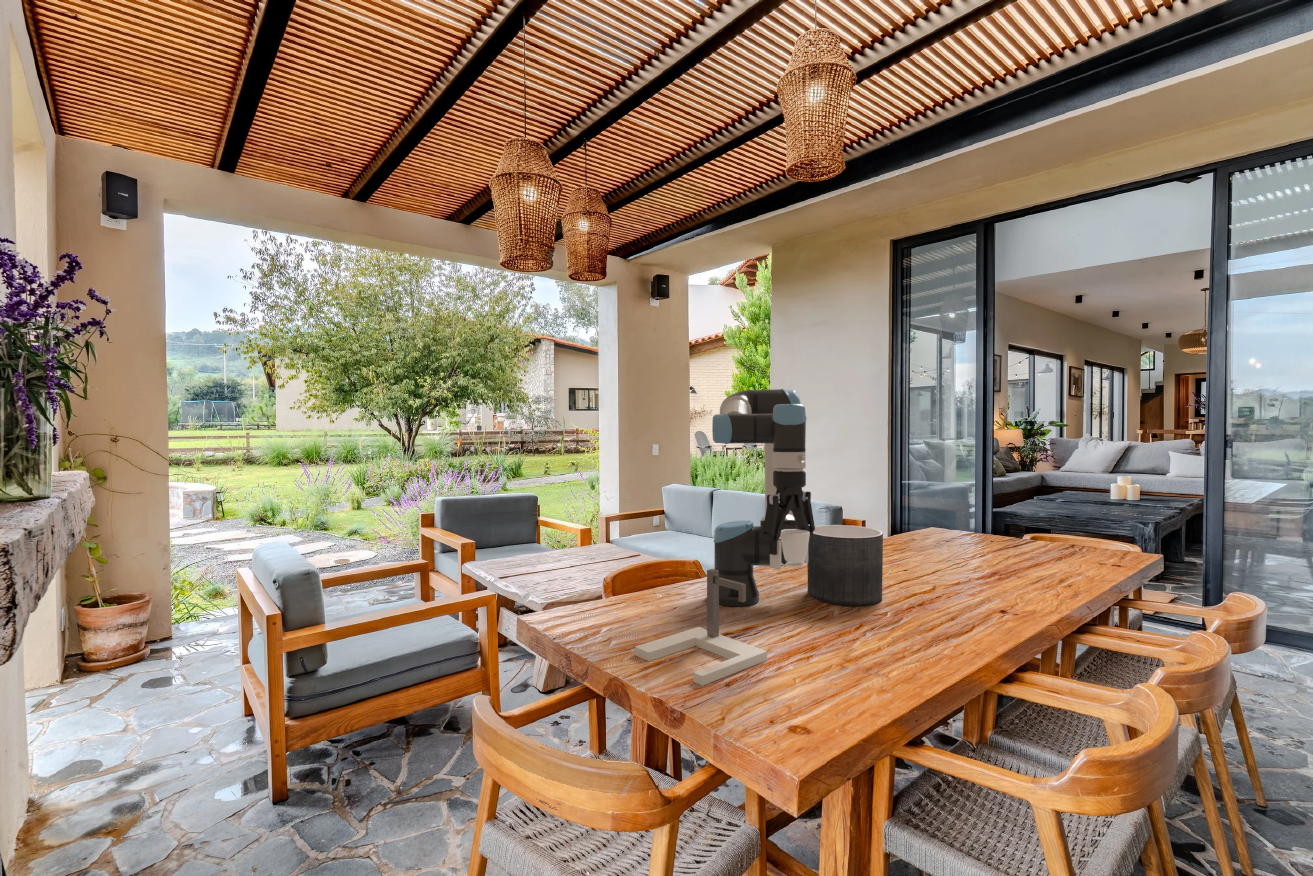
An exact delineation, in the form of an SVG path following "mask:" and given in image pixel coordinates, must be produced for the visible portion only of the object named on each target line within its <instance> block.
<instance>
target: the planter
mask: <svg viewBox="0 0 1313 876" xmlns="http://www.w3.org/2000/svg"><path fill="white" fill-rule="evenodd" d="M883 553H884V532H883V531H881V530H879V529H877V528H876V529H875V528H872V527H866V526H860V525H859V526H858V525H847V524H845V525H844V524H829V525H828V524H826V525H825V524H824V525H816V526H815V530H814V531H813V535H810V536H809V547H808V563H806V564H807V595H808V596H809V597H810V598H812V599H813V600H815V601H818V602H822V603H826V604H830V605H836V606H845V607H846V606H847V607H860V606H861V607H864V606H871V605H875V604H878V603H880V602H881V601H882V600H883V572H884V571H883V565H884V563H883V558H884V557H883V556H884V554H883Z"/></svg>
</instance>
